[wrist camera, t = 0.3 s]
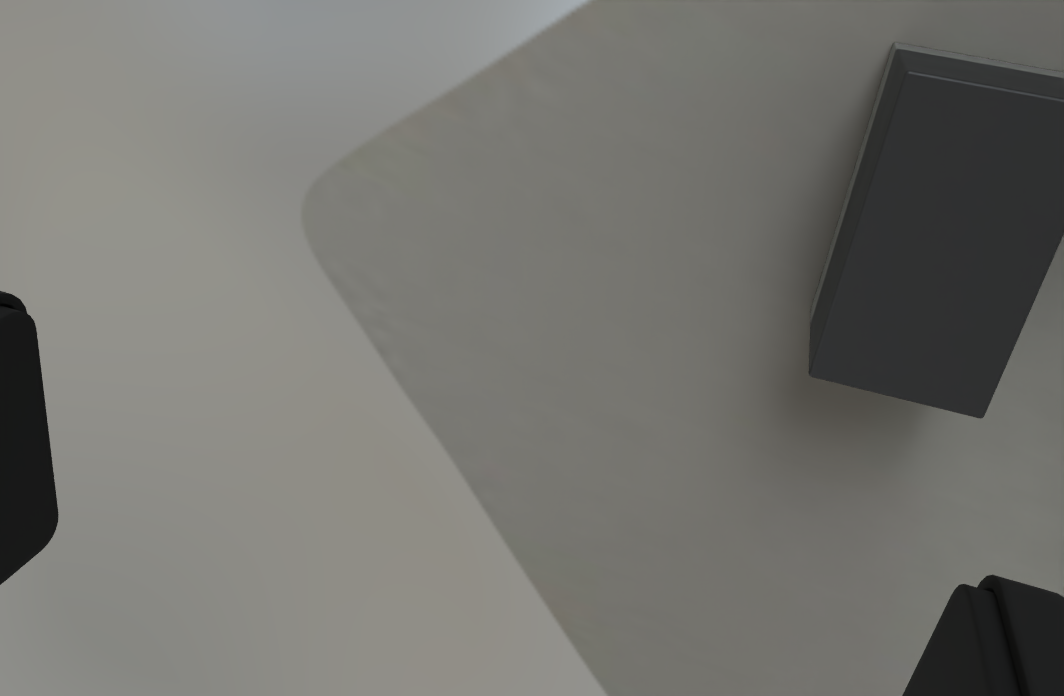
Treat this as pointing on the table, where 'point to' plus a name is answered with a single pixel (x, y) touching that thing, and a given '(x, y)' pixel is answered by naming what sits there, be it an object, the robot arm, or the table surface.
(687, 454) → the table surface
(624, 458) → the table surface
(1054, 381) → the table surface
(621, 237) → the table surface
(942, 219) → the eraser
